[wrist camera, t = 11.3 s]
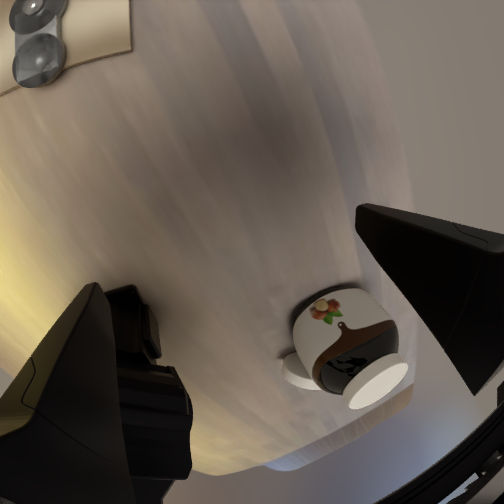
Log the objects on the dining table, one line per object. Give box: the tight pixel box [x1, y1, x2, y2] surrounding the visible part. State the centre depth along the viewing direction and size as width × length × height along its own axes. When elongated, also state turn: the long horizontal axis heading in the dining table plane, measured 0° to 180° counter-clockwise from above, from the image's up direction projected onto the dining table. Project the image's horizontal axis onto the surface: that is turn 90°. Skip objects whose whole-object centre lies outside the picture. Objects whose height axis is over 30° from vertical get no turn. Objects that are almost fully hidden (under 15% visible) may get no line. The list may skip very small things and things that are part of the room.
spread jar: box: [282, 287, 408, 409], centre depth 29 cm, size 12×11×12 cm
